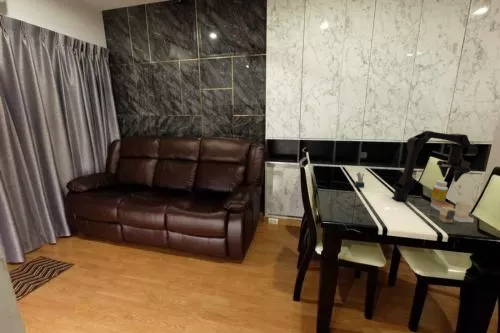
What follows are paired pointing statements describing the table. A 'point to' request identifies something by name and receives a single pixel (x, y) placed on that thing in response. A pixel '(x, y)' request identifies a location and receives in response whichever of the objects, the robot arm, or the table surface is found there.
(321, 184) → the table surface
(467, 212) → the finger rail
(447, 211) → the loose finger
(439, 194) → the supplement bottle
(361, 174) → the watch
